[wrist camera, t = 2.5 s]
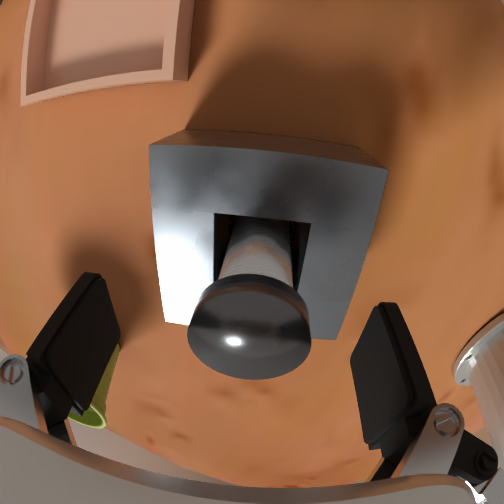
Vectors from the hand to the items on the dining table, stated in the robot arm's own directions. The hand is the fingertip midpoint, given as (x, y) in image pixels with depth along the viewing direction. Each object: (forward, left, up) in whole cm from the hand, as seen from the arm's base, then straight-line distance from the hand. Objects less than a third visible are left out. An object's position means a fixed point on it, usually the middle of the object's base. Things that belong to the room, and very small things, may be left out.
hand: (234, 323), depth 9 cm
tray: (+10, -13, -9) cm, 19 cm away
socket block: (-1, 0, -9) cm, 9 cm away
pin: (-1, 0, -10) cm, 10 cm away
